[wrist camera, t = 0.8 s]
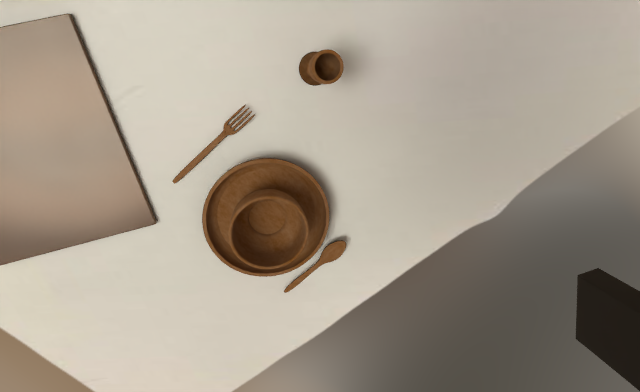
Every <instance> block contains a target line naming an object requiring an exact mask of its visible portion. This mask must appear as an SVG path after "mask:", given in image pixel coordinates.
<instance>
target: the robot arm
mask: <svg viewBox="0 0 640 392" xmlns="http://www.w3.org/2000/svg"><path fill="white" fill-rule="evenodd" d="M576 339H577V340H578V341H579V342H581V343H582V344H583V345H584V346H585V347H587V348H588V349H589V350H590V351H592V352H593V353H594V354H595V355H597V356H598V357H599V358H600V359H601V360H603V361H604V362H605V363H606V364H608V365H609V366H610V367H611V368H612V369H614V370H615V371H616V372H617V373H619V374H620V375H621V376H622V377H623V378H625V379H626V380H627V381H628V382H630V383H631V384H632V385H633V386H634V387H636V388H637V389H638V390H639V391H640V291H638V290H636V289H634V288H633V287H631V286H629V285H627V284H625V283H624V282H622V281H620V280H618V279H617V278H615V277H613V276H611V275H609V274H608V273H606V272H604V271H602V270H601V269H599V268H597V269H594V270H592V271H589V272H586V273H583V274H580V275H578V285H577V318H576Z"/></svg>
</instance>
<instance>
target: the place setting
mask: <svg viewBox="0 0 640 392" xmlns="http://www.w3.org/2000/svg"><path fill="white" fill-rule="evenodd" d="M299 72H300V75H301V77H302V79H303V80H304V81H305V82H306V83H308V84H310V85H320V84H331V83H334V82H336V81H337V80H338V79H339V78H340V77H341V75H342V72H343V61H342V59H341V57H340V55H339V54H338V53H336V52H335V51H333V50H322V51H319V52H311V53H308V54H306V55H305V56H304V57H303V58H302V60H301V62H300V65H299ZM245 106H246V105H244V106H243V107H242V108H241V109H239V110H238V111H237V112H236V113H235V114H234V115H233V116H232V117H231V118H230V119H229V120H228V121H227V122H226V123H225V124H224V130H223V132H222V133H221V134H220V135H219V136H218V137H217V138H216V139H215V140H214V141H213V142H212V143H210V144H209V145H208V146H207V147H206V148H205V149H204V150H203V151H202V152H201V153H200V154H199V155H198V156H197V157H195V158H194V159H193V160H192V161H191V162H190V163H189V164H188V165H187V166H186V167H185V168H184V169H183V170H182V171H181V172H180V173H179V174H178V175H177V176H176V177H175V179H174V180H173V181H172V182H173V183H176V182H178V181H179V180H180V179H181V178H183V177H184V176H185V175H186V174H187V173H188V172H189V171H190V170H191V169H192V168H194V167H195V166H196V165H197V164H198V163H199V162H200V161H201V160H202V159H203V158H204V157H205V156H206V155H207V154H208V153H209V152H210V151H211V150H212V149H213V148H214V147H215V146H216V145H217V144H219V143H220V142H221V141H222V140H223V139H224V138H225V137H226V136H227V135H233V134H235V133H237V132H238V131H239V130H240V129H241V128H242V127H243V126H244V125H245V124H247V123H248V122H249V121H250V120H251V119H252V118H253V117H254V115H255V114H254V115H253V116H252V117H250V118H249V119H248V120H247V121H246V122H245V123H244V124H243V125H241V126H240V127H239V128H238V129H237V130H236V131H234V129H235V128H236V127H237V126H238V125H239V124H240V123H241V122H242V121H243V120H244V119H245V118H247V117H248V116H249V115H250V113H251V112H252V111H251V112H250V113H248V114H247V115H246V116H245V117H244V118H243V119H242V120H240V121H239V122H238V123H237V124H236V125H235V126H234V127H233V128H231V126H232V125H233V124H234V123H235V122H236V121H237V120H238V119H239V118H240V117H241V116H242V115H243V114H244V113H245V112H246V111H247V110H248V109H249V108H248V109H246V110H245V111H244V112H243V113H242V114H240V115H239V116H238V117H237V118H236V119H235V120H234V121H233V122H232V123H231V124H229V125H228V123H229V121H230V120H231V119H233V118H234V117H235V116H236V115H237V114H238V113H239V112H240V111H241V110H242V109H243V108H244V107H245ZM202 223H203V230H204V234H205V238H206V240H207V242H208V244H209V246H210V248H211V249H212V251H213V252H214V253H215V255H216V256H217V257H218V258H219V259H220V260H221V261H222V262H223V263H225V264H226V265H228V266H229V267H231V268H233V269H235V270H236V271H239V272H242V273H244V274H248V275H253V276H276V275H280V274H284V273H287V272H290V271H292V270H294V269H296V268H298V267H300V266H301V265H303V264H304V263H306V262H307V261H308V260H309V259H310V258H311V257H312V256H313V255H314V254H315V253H316V252H317V251H318V249H319V248H320V246H321V245H322V243H323V241H324V239H325V237H326V234H327V230H328V226H329V206H328V202H327V199H326V196H325V194H324V192H323V190H322V188H321V187H320V185H319V184H318V182H317V181H316V180H315V179H314V178H313V177H312V176H311V175H310V174H309V173H308V172H307V171H305V170H304V169H302V168H301V167H299V166H297V165H295V164H293V163H290V162H288V161H284V160H280V159H272V158H262V159H255V160H250V161H247V162H244V163H241V164H239V165H237V166H235V167H233V168H232V169H230V170H229V171H227V172H226V173H225V174H224V175H222V176H221V177H220V178H219V179H218V181H217V182H216V183H215V184H214V186H213V187H212V189H211V190H210V192H209V194H208V196H207V198H206V201H205V204H204V209H203V216H202ZM345 248H346V242H345V241H342V240H341V241H336V242H333V243H331V244H330V245H328V246H327V247H326V248H325V249H324V250H323V252H322V254H321V256H320V259H319V261H318V262H317V263H316V264H315V265H314V266H312V267H311V268H310V269H309V270H307V271H306V272H305V273H304V274H302V275H301V276H300V277H298V278H297V279H296V280H295V281H293V282H292V283H291V284H290V285H289V286H288V287H287V288H286V289H285V290H284V292H285V293H286V292H288V291H290V290H291V289H293V288H294V287H296V286H297V285H298V284H299V283H300V282H302V281H303V280H304V279H305V278H306V277H307V276H309V275H310V274H311V273H312V272H313V271H314V270H316V269H317V268H318V267H319V266H321V265H322V264H324V263H328V262H332V261H334V260H336V259H338V258H339V257H340V256H341V255H342V254H343V252H344V250H345Z"/></svg>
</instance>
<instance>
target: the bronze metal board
mask: <svg viewBox="0 0 640 392" xmlns="http://www.w3.org/2000/svg"><path fill="white" fill-rule="evenodd" d="M156 223H157V221H156V219H155V216H154V214H153V212H152V209H151V207H150V204H149V202H148V199H147V197H146V195H145V192H144V190H143V187H142V185H141V183H140V180H139V178H138V175H137V173H136V170H135V168H134V166H133V163H132V161H131V158H130V156H129V153H128V151H127V149H126V146H125V144H124V141H123V139H122V137H121V134H120V132H119V129H118V127H117V124H116V122H115V120H114V117H113V115H112V112H111V110H110V107H109V105H108V103H107V100H106V98H105V95H104V93H103V91H102V88H101V86H100V83H99V81H98V78H97V76H96V74H95V71H94V69H93V66H92V64H91V61H90V59H89V57H88V54H87V52H86V49H85V47H84V45H83V42H82V40H81V37H80V35H79V32H78V30H77V28H76V25H75V23H74V20H73V18H72V15H71V14H63V15H58V16H53V17H48V18H43V19H39V20H34V21H29V22H24V23H19V24H14V25H9V26H4V27H0V265H3V264H7V263H11V262H15V261H19V260H22V259H26V258H30V257H34V256H37V255H41V254H45V253H49V252H52V251H56V250H60V249H64V248H67V247H71V246H75V245H79V244H82V243H86V242H90V241H94V240H97V239H101V238H105V237H109V236H112V235H116V234H120V233H124V232H127V231H131V230H135V229H139V228H143V227H146V226H150V225H154V224H156Z"/></svg>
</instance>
